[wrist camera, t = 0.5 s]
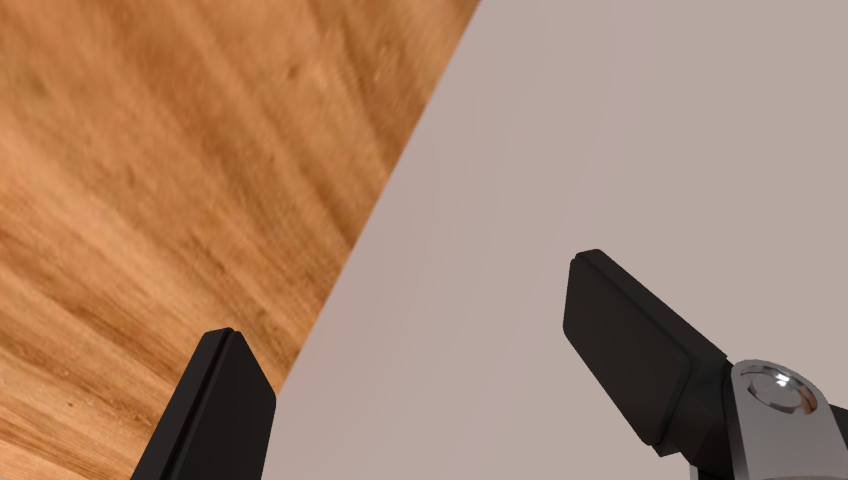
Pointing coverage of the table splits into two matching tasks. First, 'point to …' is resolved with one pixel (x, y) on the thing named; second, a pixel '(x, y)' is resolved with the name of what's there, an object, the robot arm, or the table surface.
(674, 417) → the robot arm
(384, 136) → the table surface
